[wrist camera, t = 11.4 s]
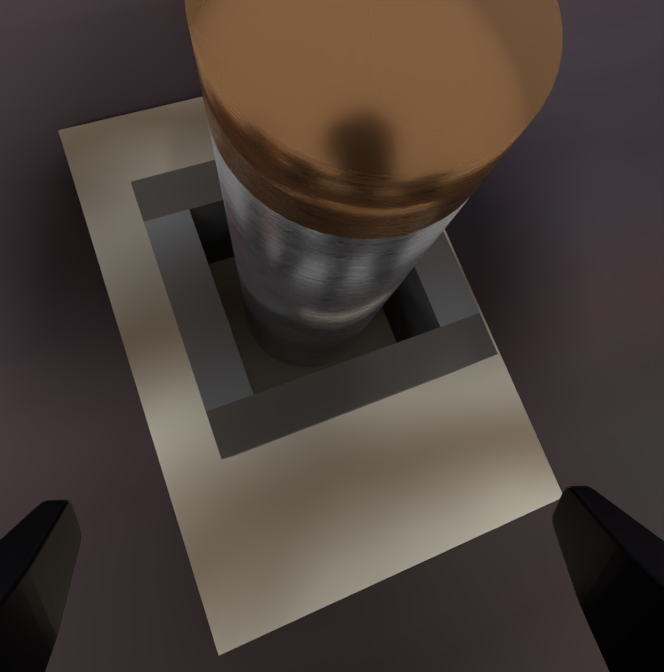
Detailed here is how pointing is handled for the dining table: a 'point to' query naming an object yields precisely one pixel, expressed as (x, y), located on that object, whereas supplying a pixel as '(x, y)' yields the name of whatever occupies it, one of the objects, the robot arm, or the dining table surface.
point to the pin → (356, 142)
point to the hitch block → (294, 396)
